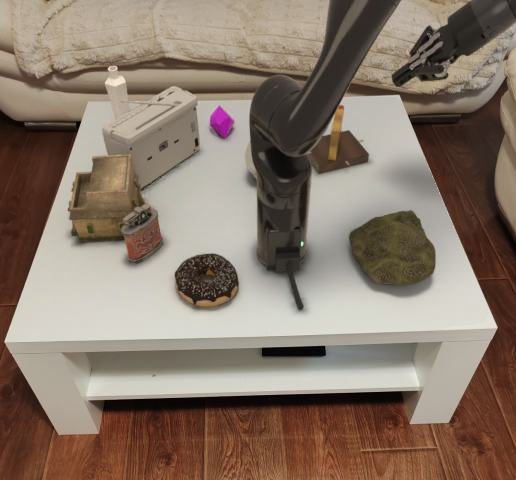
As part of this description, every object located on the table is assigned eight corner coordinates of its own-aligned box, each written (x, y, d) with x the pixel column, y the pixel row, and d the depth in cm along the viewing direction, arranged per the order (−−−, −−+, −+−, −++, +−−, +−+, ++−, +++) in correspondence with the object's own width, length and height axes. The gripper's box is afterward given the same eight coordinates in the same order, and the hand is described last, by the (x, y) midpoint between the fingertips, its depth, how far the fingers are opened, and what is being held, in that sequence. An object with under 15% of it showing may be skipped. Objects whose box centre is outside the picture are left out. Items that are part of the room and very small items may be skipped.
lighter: (155, 236, 112) (146, 195, 104) (167, 243, 110) (160, 202, 102) (124, 258, 108) (113, 217, 100) (137, 266, 107) (126, 225, 99)
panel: (317, 180, 122) (318, 172, 120) (292, 144, 130) (292, 136, 128) (376, 166, 125) (378, 157, 123) (348, 132, 133) (349, 123, 131)
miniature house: (150, 194, 120) (141, 146, 110) (147, 239, 111) (137, 192, 102) (78, 198, 119) (63, 150, 110) (70, 244, 110) (53, 196, 101)
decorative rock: (353, 299, 103) (355, 263, 95) (347, 236, 112) (348, 198, 104) (437, 295, 102) (446, 257, 94) (424, 231, 111) (431, 191, 102)
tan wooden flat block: (335, 160, 123) (339, 130, 117) (328, 159, 123) (331, 129, 117) (340, 134, 129) (344, 105, 123) (333, 134, 129) (337, 104, 123)
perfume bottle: (113, 128, 134) (99, 65, 122) (131, 124, 136) (118, 61, 124) (119, 138, 132) (104, 75, 120) (137, 134, 133) (124, 71, 121)
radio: (179, 137, 132) (168, 50, 116) (205, 150, 129) (197, 62, 113) (112, 180, 122) (89, 92, 106) (138, 196, 119) (119, 107, 103)
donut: (209, 255, 108) (208, 240, 105) (252, 288, 103) (251, 272, 100) (164, 285, 104) (161, 270, 101) (206, 321, 99) (204, 305, 95)
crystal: (207, 131, 133) (205, 113, 130) (221, 121, 136) (220, 103, 132) (224, 139, 131) (223, 121, 128) (238, 129, 134) (238, 111, 130)
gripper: (464, -19, 98) (378, 46, 108) (481, 28, 91) (388, 93, 102) (482, 12, 103) (398, 71, 113) (500, 59, 96) (409, 117, 107)
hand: (394, 81), depth 107 cm, fingers closed
